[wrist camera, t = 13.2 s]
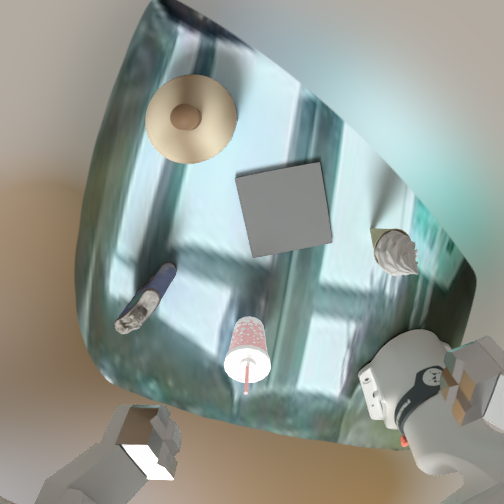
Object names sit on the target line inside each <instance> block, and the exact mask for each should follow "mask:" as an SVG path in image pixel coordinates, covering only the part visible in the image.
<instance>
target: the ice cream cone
mask: <svg viewBox="0 0 504 504" xmlns="http://www.w3.org/2000/svg"><path fill="white" fill-rule="evenodd" d="M370 233H371V238H372V243H373V248H374V257H375V260H376V262H377V263H378V264H379V266H380V267H381V268H382V269H383V270H384V271H386V272H387V273H389V274H391V275H393V276H399V275H408V274H417V275H418V274H419V273H418V268H417V264H418V262H416V261H415V260H416V258H417V253H418V251H417V250H414V249H415V242H412V241H411V239H410V237H409V236H408V234H407V233H406V232H404V231H403V230H400V229H376V228H371V229H370Z"/></svg>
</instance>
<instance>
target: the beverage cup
mask: <svg viewBox="0 0 504 504" xmlns="http://www.w3.org/2000/svg"><path fill="white" fill-rule="evenodd" d="M224 367H225V371H226V373H227V374H228V375H229V376H230V377H231V378H233V379H235V380H236V381H239V382H244V383H245V386H244V394H248V384H249V383H252V382H257V381H259V380H262V379H263V378H265V377H266V376H267V375H268V373H269V371H270V369H271V364H270V357H269V356H268V354H267V347H266V339H265V332H264V325H263V324H262V322H261V321H260V320H259V319H257V318H255V317H251V316H249V317H243V318H241V319H239V320H238V321H237V322H236V324H235V327H234V331H233V335H232V339H231V344H230V348H229V352H228V353H227V355H226V358H225V362H224Z"/></svg>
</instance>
